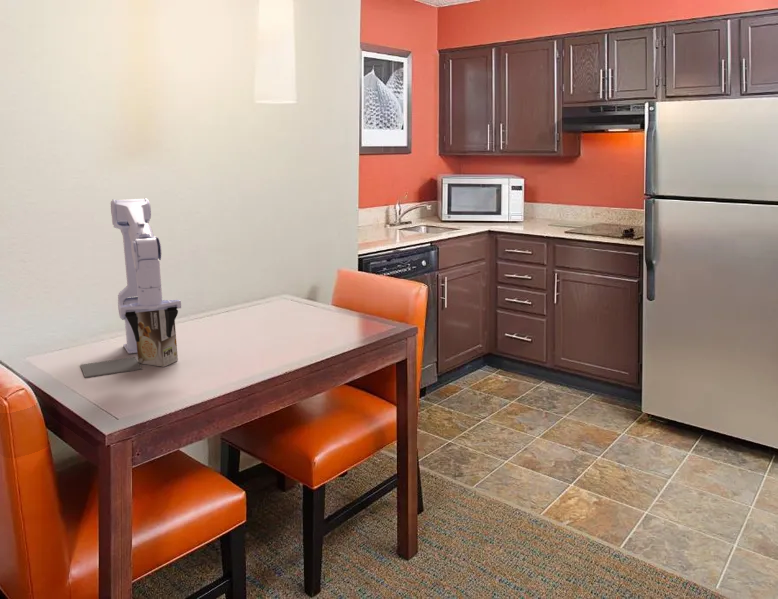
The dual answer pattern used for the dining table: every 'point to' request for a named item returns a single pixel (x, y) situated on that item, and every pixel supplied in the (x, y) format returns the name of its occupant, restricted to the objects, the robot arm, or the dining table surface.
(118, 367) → the grey flat slab
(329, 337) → the dining table surface
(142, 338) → the coffee box
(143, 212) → the robot arm
